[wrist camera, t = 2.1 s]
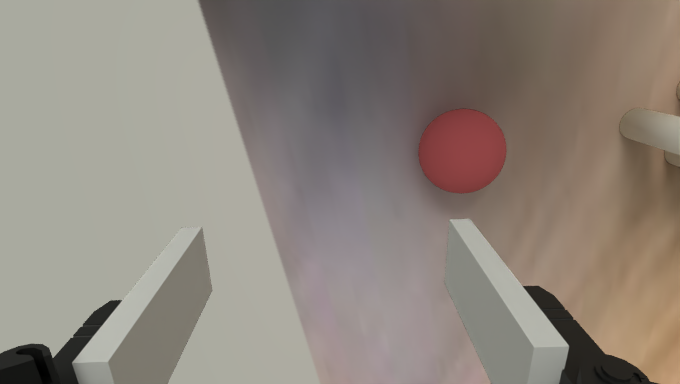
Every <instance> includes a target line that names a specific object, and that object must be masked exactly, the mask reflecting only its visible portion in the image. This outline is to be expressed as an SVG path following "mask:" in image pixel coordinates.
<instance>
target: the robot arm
mask: <svg viewBox="0 0 680 384" xmlns="http://www.w3.org/2000/svg"><path fill="white" fill-rule="evenodd" d="M444 283H445V285H446V287H447V289H448V292H449V294H450V296H451V298H452V300H453V302H454V304H455V307H456V309H457V311H458V313H459V315H460V317H461V319H462V322H463V324H464V326H465V328H466V330H467V332H468V334H469V337H470V339H471V341H472V343H473V345H474V347H475V349H476V352H477V354H478V356H479V358H480V360H481V362H482V364H483V367H484V369H485V371H486V373H487V375H488V377H489V379H490V382H491V384H658V383H654V382H650V381H649V379H648V378H647V376H646V375H645V374H644V373H642V372H641V371H640V370H639V369H638V368H637V367H635V366H634V365H632V364H630V363H628V362H627V361H625V360H623V359H620V358H617V357H614V356H612V355H606V354H605V353H604V352H603V351H602V350H601V349H600V348H599V347H598V345H597V344H596V343H595V342H594V341H593V340H592V339H591V337H590V336H589V335H588V334H587V333H586V332H585V331H584V329H583V328H582V327H581V326H580V325H579V324H578V323H577V321H576V320H573V317H572V316H571V315H570V313H569V312H568V311H567V310H565V308H564V307H563V305H562V304H561V303H560V302H559V301H558V300H557V299H556V297H555V296H554V295H552V294H550V293H549V292H547V291H546V290H544V289H543V288H541V287H539V286H522V285H521V284H520V282H519V281H518V280H517V279H516V277H515V276H514V275H513V273H512V272H511V271H510V270H509V268H508V267H507V266H506V264H505V263H504V262H503V261H502V259H501V258H500V257H499V255H498V254H497V253H496V252H495V250H494V249H493V248H492V246H491V245H490V244H489V243H488V241H487V240H486V239H485V237H484V236H483V235H482V234H481V232H480V231H479V230H478V228H477V227H476V226H475V225H474V223H473V222H472V221H471V219H449V232H448V245H447V257H446V270H445V282H444ZM211 292H212V285H211V279H210V273H209V267H208V261H207V254H206V248H205V242H204V236H203V230H202V227H187V228H186V227H185V228H181V229H180V230H179V231H178V232H177V234H176V235H175V236H174V237H173V239H172V240H171V241H170V242H169V243H168V245H167V246H166V247H165V249H164V250H163V251H162V252H161V253H160V255H159V256H158V257H157V258H156V260H155V261H154V262H153V263H152V264H151V266H150V267H149V268H148V269H147V271H146V272H145V273H144V274H143V276H142V277H141V278H140V279H139V281H138V282H137V283H136V284H135V286H134V287H133V288H132V289H131V291H130V292H129V293H128V294H127V296H126V297H125V298H124V299H123V300H118V301H117V300H115V301H109V302H108V303H106V304H105V305H103V306H102V307H100V308H99V309H97V310H96V311H94V312H93V314H92V315H91V316H90V317H89V318H88V319H87V320H86V321H85V323H84V324H83V327H80V328H79V329H78V331H77V332H76V333H75V334H74V335H73V336H74V337H73V338H71V339H70V340H69V341H68V342H67V343H66V344H65V345H64V347H63V348H62V349H61V350H60V351H59V352H58V353H57V355H56V356H55V357H54V358H52V355H51V352H50V350H49V348H48V347H46V346H44V345H43V344H28V345H23V346H18V347H16V348H13V349H10V350H7V351H5V352H3V353H1V354H0V384H168V382H169V379H170V377H171V375H172V373H173V371H174V369H175V367H176V365H177V363H178V361H179V359H180V356H181V354H182V352H183V350H184V348H185V346H186V344H187V342H188V339H189V338H190V336H191V333H192V331H193V329H194V327H195V325H196V323H197V321H198V319H199V317H200V315H201V313H202V311H203V309H204V307H205V304H206V302H207V300H208V298H209V296H210V294H211Z"/></svg>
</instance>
